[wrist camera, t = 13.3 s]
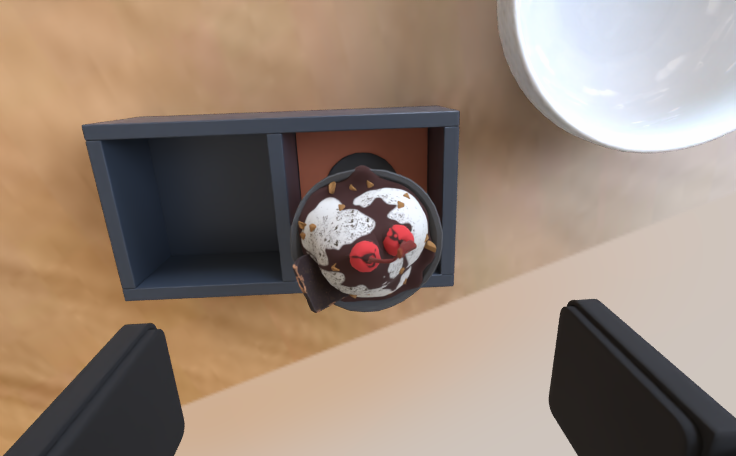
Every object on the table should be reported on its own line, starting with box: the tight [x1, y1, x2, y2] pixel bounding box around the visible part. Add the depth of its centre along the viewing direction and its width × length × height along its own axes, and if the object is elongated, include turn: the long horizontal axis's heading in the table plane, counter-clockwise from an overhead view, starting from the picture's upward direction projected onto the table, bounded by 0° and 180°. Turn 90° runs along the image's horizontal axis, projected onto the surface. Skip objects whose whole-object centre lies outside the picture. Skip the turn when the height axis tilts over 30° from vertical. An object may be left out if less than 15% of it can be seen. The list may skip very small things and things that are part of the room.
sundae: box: [290, 153, 443, 313], centre depth 20 cm, size 7×7×15 cm
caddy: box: [82, 106, 460, 301], centre depth 26 cm, size 10×19×6 cm, turn 92°
